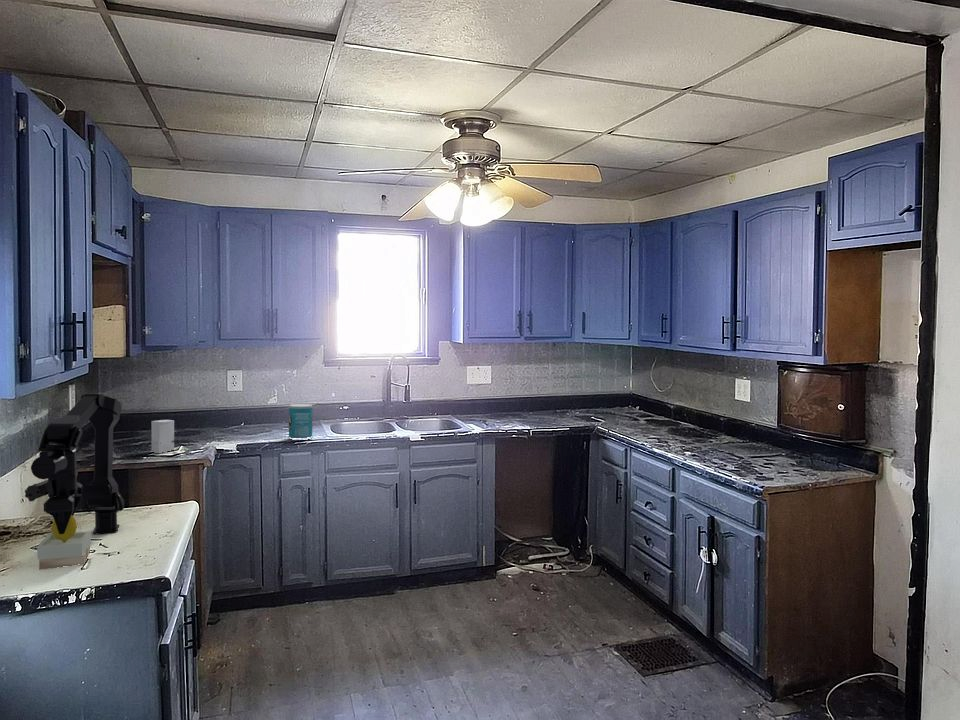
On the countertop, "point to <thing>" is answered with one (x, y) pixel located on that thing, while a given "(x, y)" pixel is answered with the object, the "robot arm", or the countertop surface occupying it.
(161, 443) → the skincare box
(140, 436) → the countertop surface
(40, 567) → the base block
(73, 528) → the lemon
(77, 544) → the dish block
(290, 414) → the food can
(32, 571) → the countertop surface
